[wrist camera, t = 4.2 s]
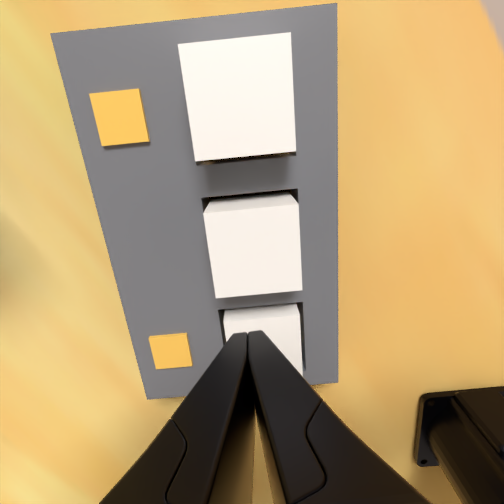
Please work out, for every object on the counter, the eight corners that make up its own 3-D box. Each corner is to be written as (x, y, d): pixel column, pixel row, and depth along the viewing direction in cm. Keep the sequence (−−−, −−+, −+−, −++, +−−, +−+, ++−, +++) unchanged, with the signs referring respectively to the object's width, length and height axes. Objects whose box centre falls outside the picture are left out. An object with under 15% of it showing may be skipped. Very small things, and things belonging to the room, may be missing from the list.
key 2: (294, 342, 20) (302, 376, 17) (234, 348, 20) (232, 382, 17) (291, 287, 18) (299, 314, 16) (226, 294, 18) (223, 322, 16)
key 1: (286, 148, 15) (296, 151, 12) (205, 156, 15) (195, 161, 12) (281, 54, 13) (290, 32, 11) (191, 64, 13) (177, 44, 11)
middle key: (292, 264, 17) (302, 290, 14) (220, 271, 17) (215, 298, 14) (288, 192, 15) (298, 204, 12) (210, 199, 15) (203, 213, 13)
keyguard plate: (327, 354, 20) (339, 384, 18) (158, 369, 20) (146, 402, 18) (322, 25, 14) (338, 0, 12) (82, 50, 14) (47, 31, 12)
